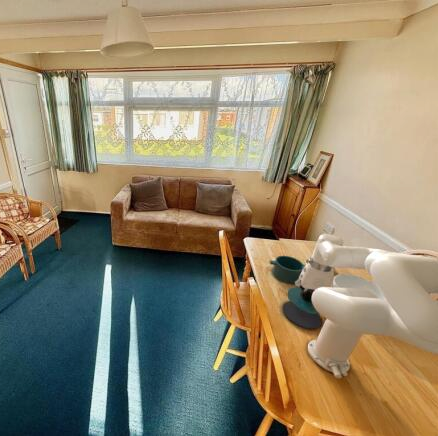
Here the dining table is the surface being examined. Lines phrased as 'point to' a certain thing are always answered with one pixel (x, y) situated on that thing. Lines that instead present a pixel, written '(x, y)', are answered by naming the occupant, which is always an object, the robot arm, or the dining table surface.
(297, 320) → the mat
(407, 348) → the dining table surface
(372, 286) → the serving bowl
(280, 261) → the pot
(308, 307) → the lid
